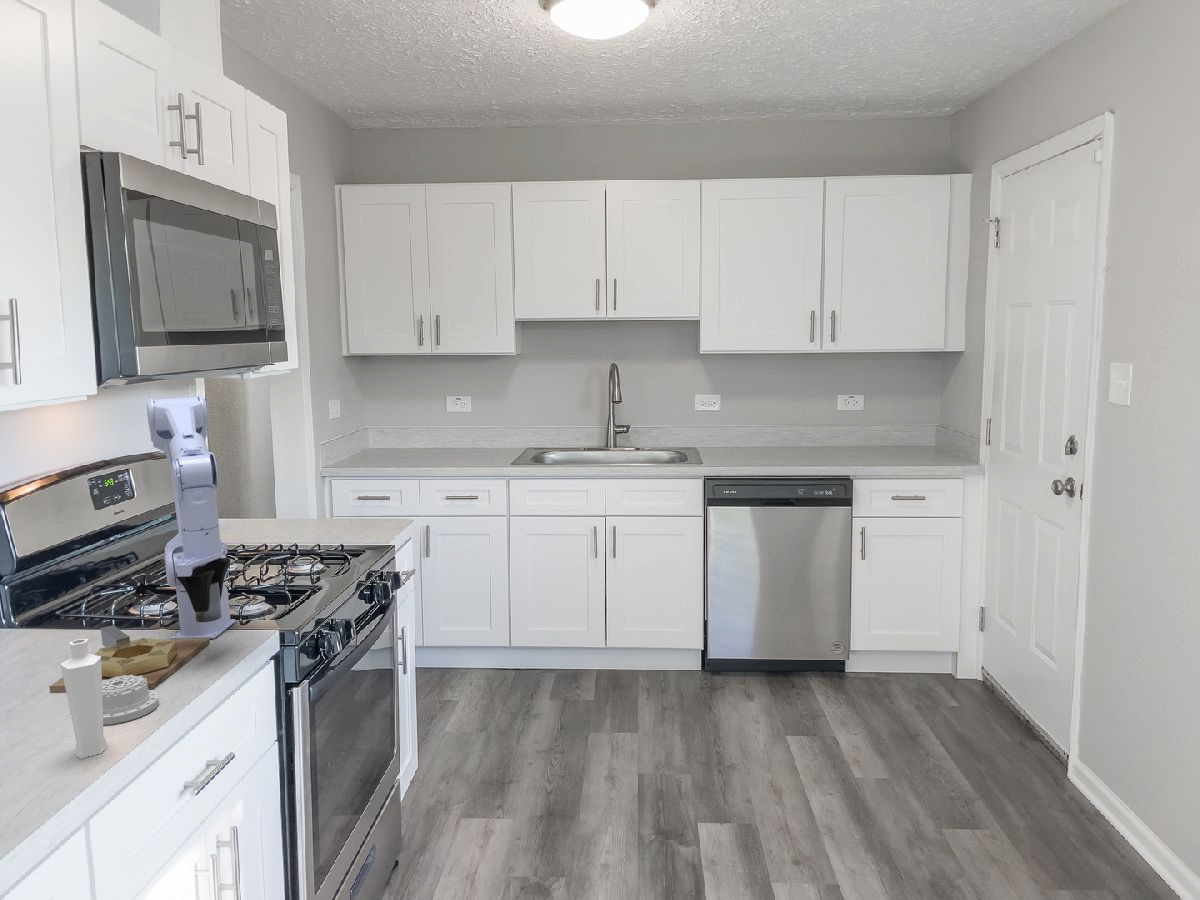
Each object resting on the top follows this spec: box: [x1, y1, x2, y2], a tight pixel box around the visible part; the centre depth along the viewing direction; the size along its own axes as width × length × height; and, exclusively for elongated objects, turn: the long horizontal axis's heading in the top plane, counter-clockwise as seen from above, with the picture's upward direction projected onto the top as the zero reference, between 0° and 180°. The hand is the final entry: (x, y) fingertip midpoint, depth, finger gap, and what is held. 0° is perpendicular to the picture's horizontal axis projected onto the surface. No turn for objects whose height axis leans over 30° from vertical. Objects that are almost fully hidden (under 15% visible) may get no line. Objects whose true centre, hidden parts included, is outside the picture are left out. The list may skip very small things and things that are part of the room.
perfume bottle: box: [60, 638, 109, 759], centre depth 116 cm, size 5×4×15 cm
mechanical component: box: [102, 675, 160, 726], centre depth 129 cm, size 10×4×10 cm
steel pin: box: [195, 580, 222, 622], centre depth 148 cm, size 4×4×6 cm
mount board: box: [49, 638, 211, 693], centre depth 147 cm, size 20×16×1 cm
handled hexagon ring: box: [94, 625, 177, 678], centre depth 147 cm, size 20×13×3 cm
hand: (207, 606), depth 148 cm, fingers closed on steel pin, 4 cm apart
